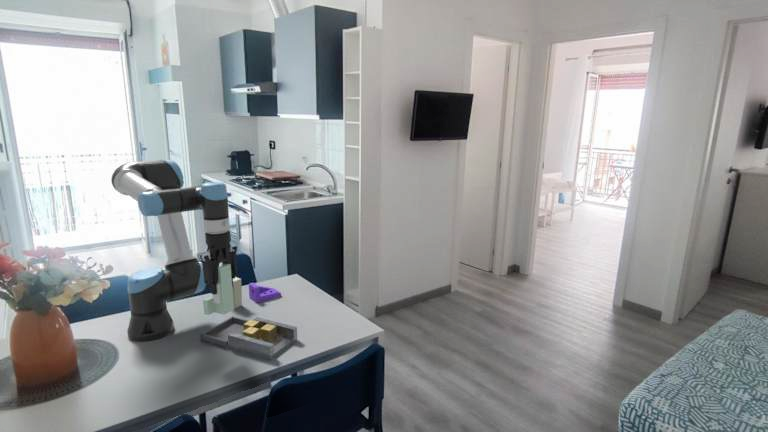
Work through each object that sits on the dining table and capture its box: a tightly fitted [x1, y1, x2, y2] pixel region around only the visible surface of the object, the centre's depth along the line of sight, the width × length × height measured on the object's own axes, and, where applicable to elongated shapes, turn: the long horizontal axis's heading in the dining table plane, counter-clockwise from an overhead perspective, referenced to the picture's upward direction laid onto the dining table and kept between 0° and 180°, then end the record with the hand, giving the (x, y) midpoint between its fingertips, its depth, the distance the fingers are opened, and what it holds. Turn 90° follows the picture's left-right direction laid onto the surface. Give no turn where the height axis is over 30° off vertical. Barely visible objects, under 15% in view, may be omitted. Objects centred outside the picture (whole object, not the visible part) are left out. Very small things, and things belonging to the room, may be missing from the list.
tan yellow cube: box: [260, 324, 277, 341], centre depth 155 cm, size 4×4×4 cm
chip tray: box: [200, 315, 250, 349], centre depth 160 cm, size 12×16×2 cm
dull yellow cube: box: [244, 319, 260, 330], centre depth 158 cm, size 4×4×4 cm
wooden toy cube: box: [243, 327, 260, 340], centre depth 152 cm, size 4×4×4 cm
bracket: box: [248, 282, 282, 304], centre depth 193 cm, size 12×7×7 cm, turn 130°
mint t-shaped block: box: [202, 261, 235, 316], centre depth 143 cm, size 6×9×16 cm
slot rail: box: [228, 316, 298, 361], centre depth 153 cm, size 18×15×5 cm
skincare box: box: [232, 276, 243, 309], centre depth 183 cm, size 6×4×12 cm
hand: (223, 299), depth 143 cm, fingers closed on mint t-shaped block, 4 cm apart
